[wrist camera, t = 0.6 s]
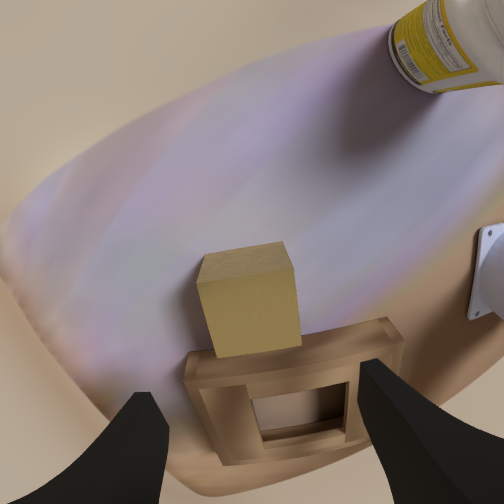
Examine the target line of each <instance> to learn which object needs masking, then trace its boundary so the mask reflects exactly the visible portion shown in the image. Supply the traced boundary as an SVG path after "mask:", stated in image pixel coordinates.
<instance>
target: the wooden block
mask: <svg viewBox="0 0 504 504" xmlns="http://www.w3.org/2000/svg"><path fill="white" fill-rule="evenodd" d="M196 285H197V289H198V293H199V296H200V300H201V304H202V307H203V311H204V315H205V318H206V322H207V325H208V329H209V332H210V336H211V339H212V342H213V346H214V349H215V352H216V356H217V358H224V357H232V356H239V355H246V354H253V353H260V352H266V351H273V350H279V349H285V348H290V347H296V346H301V345H302V341H301V331H300V321H299V311H298V302H297V293H296V285H295V276H294V268H293V265H292V263H291V260H290V258H289V256H288V253H287V251H286V248H285V246H284V244H283V241H281V242H275V243H269V244H263V245H257V246H251V247H245V248H239V249H233V250H227V251H221V252H215V253H210V254H205V256H204V259H203V263H202V266H201V269H200V272H199V275H198V279H197V282H196Z"/></svg>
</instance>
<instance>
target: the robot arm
mask: <svg viewBox="0 0 504 504" xmlns="http://www.w3.org/2000/svg"><path fill="white" fill-rule="evenodd" d="M488 232H489V234H488ZM491 312H494V313H496V314H497V315H498V316H499V317H500V318H501V319H503V320H504V223H499V224H494V225H489V226H484V227H482V228H481V229H480V232H479V241H478V251H477V260H476V268H475V275H474V281H473V287H472V293H471V299H470V304H469V309H468V314H467V317H468V319H469V320H473V319H476V318H478V317H481V316H483V315H486V314H488V313H491ZM357 403H358V406H359V410H360V413H361V416H362V420H363V423H364V426H365V428H366V430H367V433H368V435H369V437H370V439H371V442H372V444H373V446H374V448H375V450H376V453H377V455H378V457H379V459H380V462H381V464H382V466H383V469H384V471H385V474H386V476H387V479H388V482H389V485H390V489H391V492H392V496H393V500H394V504H504V439H503V438H500V437H497V436H495V435H492V434H489V433H487V432H484V431H482V430H479V429H477V428H475V427H473V426H471V425H468V424H467V423H464V422H463V421H461V420H459V419H457V418H455V417H453V416H452V415H450V414H449V413H447V412H446V411H444V410H442V409H441V408H439V407H438V406H436V405H435V404H434V403H432V402H431V401H429V400H428V399H427V398H425V397H424V396H422V395H421V394H420V393H419V392H417V391H416V390H415V389H413V388H412V387H411V386H410V385H408V384H407V383H406V382H405V381H404V380H402V379H401V378H400V377H399V376H398V375H396V374H395V373H394V372H393V371H392V370H391V369H389V368H388V367H387V366H386V365H385V364H384V363H383V362H382V361H380V360H379V359H378V358H374V359H371V360H367V361H363V362H360V372H359V384H358V395H357ZM168 445H169V425H168V423H167V422H166V420H165V418H164V416H163V415H162V413H161V411H160V409H159V407H158V406H157V404H156V402H155V400H154V398H153V396H152V395H151V393H150V392H135V393H134V394H133V395H132V396H131V398H130V399H129V400H128V401H127V402H126V404H125V405H124V406H123V407H122V409H121V410H120V411H119V412H118V414H117V415H116V416H115V417H114V419H113V420H112V421H111V422H110V423H109V425H108V426H107V427H106V428H105V430H104V431H103V432H102V433H101V434H100V436H99V437H98V438H97V439H96V440H95V441H94V442H93V443H92V444H91V445H90V446H89V447H88V448H87V449H86V451H85V452H84V453H83V454H82V455H81V456H80V457H79V458H78V459H77V460H76V461H74V462H73V463H72V464H71V465H70V466H69V467H67V468H66V469H65V470H64V471H63V472H61V473H60V474H59V475H57V476H56V477H55V478H53V479H52V480H50V481H49V482H48V483H46V484H45V485H43V486H42V487H40V488H38V489H37V490H35V491H34V492H32V493H30V494H28V495H26V496H24V497H22V498H20V499H17V500H15V501H13V502H10V503H8V504H159V497H160V491H161V486H162V480H163V476H164V470H165V465H166V460H167V454H168Z"/></svg>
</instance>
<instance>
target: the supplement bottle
mask: <svg viewBox="0 0 504 504" xmlns="http://www.w3.org/2000/svg"><path fill="white" fill-rule="evenodd" d="M388 45H389V51H390V55H391V57H392V60H393V62H394V64H395V66H396V67H397V69H398V70H399V72H400V73H401V74H402V76H403V77H404V78H405V79H406V80H407V81H408V82H409V83H411V84H412V85H413V86H415V87H416V88H418V89H420V90H422V91H425V92H428V93H445V92H451V91H457V90H463V89H469V88H476V87H483V86H491V85H501V84H504V0H427V1H426V2H424V3H423V4H421V5H420V6H418V7H417V8H415V9H414V10H412V11H411V12H409V13H408V14H406V15H405V16H403V17H402V18H401V19H399V20H398V21H397V22H396V23H395V24H394V25H393V26H392V28H391V30H390V33H389V38H388Z"/></svg>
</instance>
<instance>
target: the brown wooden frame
mask: <svg viewBox="0 0 504 504" xmlns="http://www.w3.org/2000/svg"><path fill="white" fill-rule="evenodd" d="M301 341H302V345H301V346H296V347H290V348H285V349H279V350H273V351H266V352H260V353H253V354H246V355H239V356H232V357H224V358H217V356H216V352H215V349H211V350H202V351H193V352H189V354H188V359H187V364H186V368H185V373H184V378H183V383H184V385H185V388H186V390H187V392H188V395H189V397H190V399H191V401H192V404H193V406H194V408H195V410H196V412H197V414H198V417H199V419H200V421H201V423H202V425H203V427H204V429H205V431H206V433H207V435H208V437H209V439H210V441H211V443H212V445H213V447H214V449H215V451H216V453H217V455H218V457H219V459H220V461H221V463H222V465H223V466H230V465H244V464H254V463H263V462H271V461H279V460H286V459H292V458H298V457H304V456H309V455H314V454H319V453H324V452H328V451H333V450H337V449H341V448H345V447H349V446H353V445H357V444H360V443H364V442H367V441H371V439H370V437H369V435H368V433H367V430H366V428H365V426H364V423H363V420H362V416H361V413H360V410H359V406H358V403H357V395H358V384H359V372H360V362H363V361H367V360H371V359H374V358H378V359H379V360H380V361H382V362H383V363H384V364H385V365H386V366H387V367H388V368H389V369H391V370H392V371H393V372H394V373H395V374H396V375H398V376H399V375H400V369H401V364H402V358H403V352H404V346H405V340H404V339H403V337H402V336H401V334H400V333H399V332H398V330H397V329H396V328H395V326H394V325H393V324H392V322H391V321H390V320H389V319H388V317H384V318H380V319H376V320H372V321H368V322H364V323H360V324H355V325H351V326H346V327H342V328H337V329H333V330H328V331H323V332H318V333H313V334H308V335H302V336H301ZM343 382H346V391H345V407H344V416H342V417H338V418H334V419H329V420H325V421H320V422H315V423H310V424H305V425H300V426H294V427H288V428H282V429H275V430H268V431H261V432H260V429H259V425H258V422H257V418H256V414H255V411H254V407H253V403H252V399H256V398H264V397H270V396H277V395H283V394H289V393H295V392H300V391H305V390H311V389H316V388H320V387H325V386H330V385H334V384H338V383H343Z"/></svg>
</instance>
